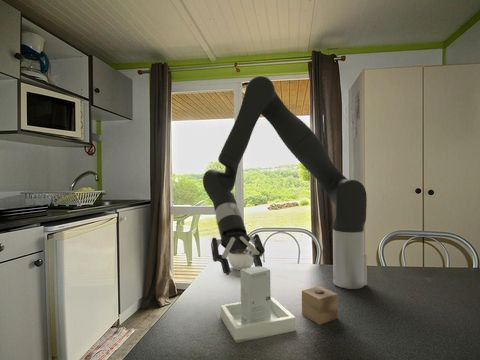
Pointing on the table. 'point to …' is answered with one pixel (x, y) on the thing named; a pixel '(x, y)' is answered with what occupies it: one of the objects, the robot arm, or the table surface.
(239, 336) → the tray
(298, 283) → the table surface
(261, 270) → the skincare box
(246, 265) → the lidded jar
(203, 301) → the table surface
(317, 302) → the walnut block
